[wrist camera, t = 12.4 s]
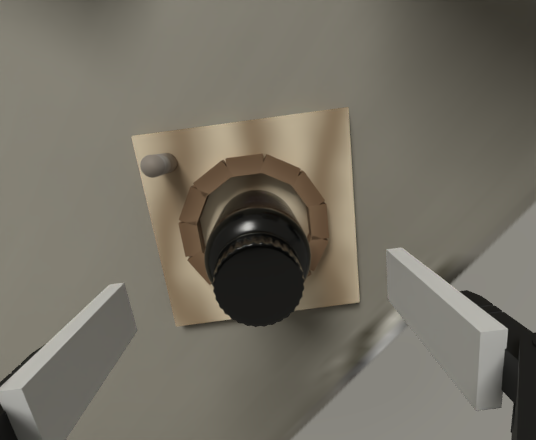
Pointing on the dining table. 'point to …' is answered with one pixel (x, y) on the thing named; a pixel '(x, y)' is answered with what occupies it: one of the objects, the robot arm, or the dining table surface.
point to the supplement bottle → (257, 259)
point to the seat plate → (245, 179)
